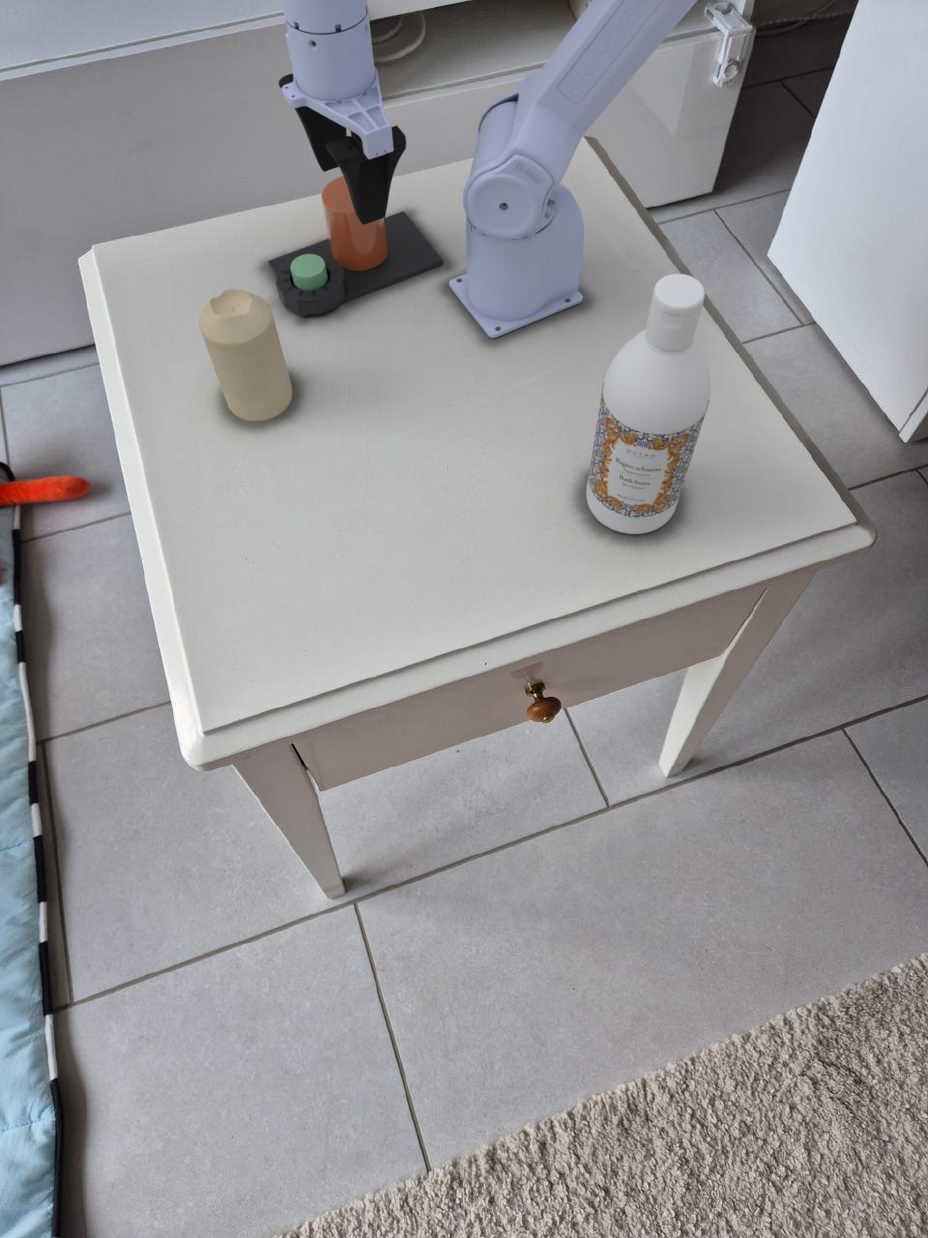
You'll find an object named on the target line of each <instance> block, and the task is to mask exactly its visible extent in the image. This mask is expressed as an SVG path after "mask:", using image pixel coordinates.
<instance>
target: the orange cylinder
mask: <svg viewBox="0 0 928 1238" xmlns="http://www.w3.org/2000/svg"><path fill="white" fill-rule="evenodd" d="M321 202H322V207H323V213H324V218H325V219H324V220H325V224H326V225H325V226H326V231H327V236H328V239H329V242H330V248H331V253H332V258H333V259H335V260H336V261H338V263H339V264H340V266H341V267H342V268H344V269H347V270H351V271H365V270H369V269H372V268H374V267H376V266H378V265H380V264H381V263H382V262H383V261H384V260H385V259H386V257H387V254H388V242H387V234H386V225H385V218H386V216H385V217H384V218H382V219H379V220H376V221H373V222H371V223H368V224H365V225H363V224H362V223H361V222H360V221H359V219H358V217H357V215H356V213H355V210H354V207H353V204H352V200H351V197H350V193H349V190H348V186H347V184H346V181H345V178H344V176H343V175H342V176H338V177H337V178H335V179H333V180H331V181H329V182H328V183H327V184H326V185H325V186H324V188H323V189H322V192H321Z"/></svg>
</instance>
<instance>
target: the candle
mask: <svg viewBox="0 0 928 1238" xmlns="http://www.w3.org/2000/svg"><path fill="white" fill-rule="evenodd" d="M274 317H275V316H274V314H273V311H272V308H271V306H270V304H269V302H268V301H267V300H266V299H264V298H263V297H261V296H260V295H257V294H255V293H252V292H249V291H247V290H245V289H243V288H230V289H229V288H228V289H225V290H223V291H222V292H221V293H220V294H219V295H217V296H216V297H212V298H211V299H210V300H209V302H208V303H207V304H206V305H205V306H204V307H203V309H202V310H201V312H200V313H199V318H198V328H199V331H200V333H201V336H202V339H203V341H204V343H205V347H206V349H207V352H208V356H209V359H210V361H211V364H212V366H213V369H214V372H215V375H216V378H217V381H218V384H219V387H220V388H221V391H222V394H223V396H224V399H225V402H226V404H227V407H228V408H229V410H230V411H231V412H232V414H233V415H235V416H236V417H237V418H239V419H241V420H244V421H248V422H264V421H268V420H271V419H273V418H276V417H278V416H280V415H281V414H282V413H284V412H285V410H287V408H288V407H289V406H290V404H291V402H292V399H293V388H292V382H291V378H290V374H289V370H288V368H287V364H286V360H285V355H284V352H283V348H282V345H281V341H280V337H279V333H278V329H277V326H276V321H275V318H274Z"/></svg>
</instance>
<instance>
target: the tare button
mask: <svg viewBox="0 0 928 1238" xmlns="http://www.w3.org/2000/svg"><path fill="white" fill-rule="evenodd" d="M291 273H292V277H293V281H294V284H295V286H296V287H297V288H298V289H300V290H302V291H314V290H316V289H319V288H322V287H323V286H324V285H325V284H326V283H327V280H328V277H327V271H326V266H325V262H324V260H323V259H322V258H321V257H320V256H318V255H314V254H305V255H301V256H299V257H297V258H295V259H294V260H293V262H292V263H291Z"/></svg>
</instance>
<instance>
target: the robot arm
mask: <svg viewBox="0 0 928 1238" xmlns="http://www.w3.org/2000/svg"><path fill="white" fill-rule="evenodd" d="M697 2H698V0H591V2H590V3H589V4H588V5H587V7H586V8H585V10H584V11H583V13H582V14H581V15H580V16H579V18H578V19H577V21H576V22H574V23H575V24H574V25H573V26H572V27H571V28H570V30H569V31H568V32H567V33H566V35H565V37H564V38H563V39H562V40H561V42H560V43H559V45H558V46H557V48H556V49H555V50H554V51H553V53H551V54H550V57H549V58H548V59H547V61H546V62H545V63H544V65H543V66H542V67H541V69H540V70H539V71H536V72H531V73H528V74H526V75H525V76H524V78H523V79H522V80H521V82H520V83H519V84H518V85H517V87H516V88H514V89H513V90H511V92H509V93H507V94H504V95H503V96H501V97H498V98H496V99H495V100H493V101H492V102H491V103H490V104H489V105H488V106H486V108H485V110H484V111H483V113H482V115H481V117H480V119H479V122H478V127H477V141H476V145H475V150H474V156H473V158H472V163H471V168H470V172H469V177H468V178H467V181H466V183H465V186H464V189H463V193H462V206H463V209H464V212H465V232H466V233H465V234H466V238H465V239H466V240H465V241H466V273H464V274H462V275H459V276H456V277H454V278H451V279H450V280H449V282H448V286H449V288H450V289H451V291H452V292H453V294H454V295H455V296H456V297H457V298H458V300H459V301H460V303H462V305H463V306H464V307H465V308H466V310H467V311H468V312H469V313H470V315H471V317H473V319H474V320H475V321H476V323H477V324H478V325H479V327H480V328H481V329H482V330H483V331H484V333H485V334H486V336H487V337H489V338H491V339H495V338H498V337H501V336H503V335H506V334H507V333H510V332H513V331H516V330H517V329H520V328H522V327H525V326H527V325H530V324H532V323H534V322H535V323H536V322H537V321H539V320H542V319H544V318H547V317H549V316H551V315H554V314H556V313H559V312H561V311H564V310H566V309H568V308H571V307H573V306H576V305H578V304H580V303H582V302H583V299H584V295H583V294H582V293H581V292H580V291H579V287H580V277H581V269H582V260H583V250H584V242H585V227H584V219H583V216H582V211H581V208H580V206H579V204H578V201H577V200H576V198H575V196H574V195H573V193H572V192H571V191H570V190H569V188H568V187H566V186H565V185H564V184H561V182H562V180H564V177H565V174H566V173H567V170H568V168H569V165H570V164H571V161H572V159H573V158H574V155H575V152H576V150H577V148H578V147H579V144H580V142H581V140H582V138H583V136H584V134H585V133H586V132H587V131H588V130H589V128H591V126H592V125H593V124H594V123H595V122H596V120H597V119H598V118H599V117H600V115H602V113H603V112H604V111H605V110H606V109H607V107H609V105H610V104H612V102H613V100H614V99H615V98H616V97H617V96H618V95H619V93H620V92H621V91H622V90H623V88H624V87H625V86H626V85H627V84H628V83H629V82H630V80H631V79H632V78H633V76H635V74H637V72H638V71H639V70H640V69H641V68H642V66H643V65H644V64H645V63H646V62H647V60H648V59H649V58H650V57H651V56H652V54H653V53H654V52H655V51H656V50H657V48H658V47H659V46H660V45H661V44H662V43H663V42H664V40H665V39H666V38H667V37H668V36H669V34H671V32H672V31H673V30H674V29H675V28H676V26H677V25H678V24H679V23H680V22H681V20H682V19H683V18H684V17H685V16H686V14H687V13H689V11H690V10H691V9H692V8H693V6H694V5H695V4H696V3H697ZM281 4H282V9H283V16H284V20H285V26H286V31H287V32H286V33H285V34H284V35H285V40H286V41H285V42H286V45H287V51H288V57H289V60H290V61H291V64H292V73H289V74H286V75H284V76H282V77H281V78H280V79H279V81H278V87H279V89H281V93H282V98H283V99H284V101H285V102H286V104H287V105H288V106H289V107H290V108H292V109H294V111H295V112H296V115H297V116H298V118H299V120H300V123H301V125H302V127H303V129H304V132H305V134H306V136H307V139H308V142H309V145H310V147H311V150H312V152H313V155H314V157H315V159H316V161H317V164H318V165H319V167H320V170H322V172H323V173H325V172H328V171H331V170H334V169H337V168H339V170H340V172H341V174H342V176H344V178H345V181H346V184H347V186H348V190H349V193H350V197H351V200H352V204H353V207H354V210H355V213H356V215H357V217H358V219H359V221H360V222H361V223H362V224H363V225H365V224H368V223H371V222H373V221H376V220H379V219H382V218H384V217H385V218H386V214H387V209H388V203H389V198H390V191H391V187H392V186H391V185H392V181H393V177H394V174H395V170H396V169H397V166H398V163H399V161H400V160H401V157H402V156H403V154H404V152H405V151H406V149H407V136H406V134H405V133H404V132H403V131H402V130H401V128H400V127H399V126H398V125H394V126H392V124H391V123H390V121H389V120H388V118H387V116H386V114H385V109H384V102H383V97H382V90H381V85H380V78H379V72H378V70H377V68H376V67H375V62H374V53H373V52H374V51H373V43H372V34H371V33H372V32H371V25H370V24H371V23H370V14H369V5H368V0H281ZM347 130H348V131H350V135H348V134H347V133H348V132H347Z"/></svg>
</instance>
